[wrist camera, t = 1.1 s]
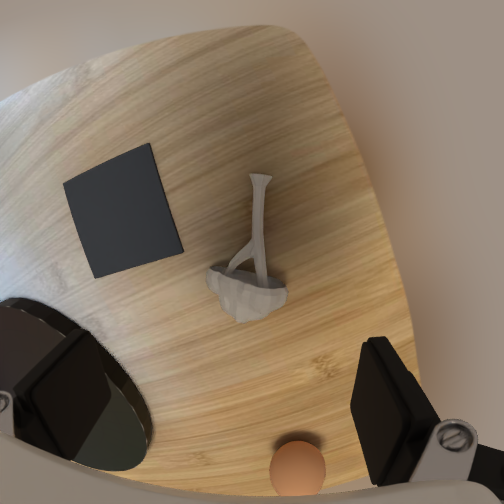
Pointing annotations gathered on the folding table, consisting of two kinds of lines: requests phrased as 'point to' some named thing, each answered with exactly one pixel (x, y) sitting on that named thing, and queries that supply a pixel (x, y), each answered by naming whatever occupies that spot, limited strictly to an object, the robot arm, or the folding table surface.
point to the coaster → (122, 213)
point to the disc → (122, 389)
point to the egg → (297, 469)
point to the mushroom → (246, 283)
